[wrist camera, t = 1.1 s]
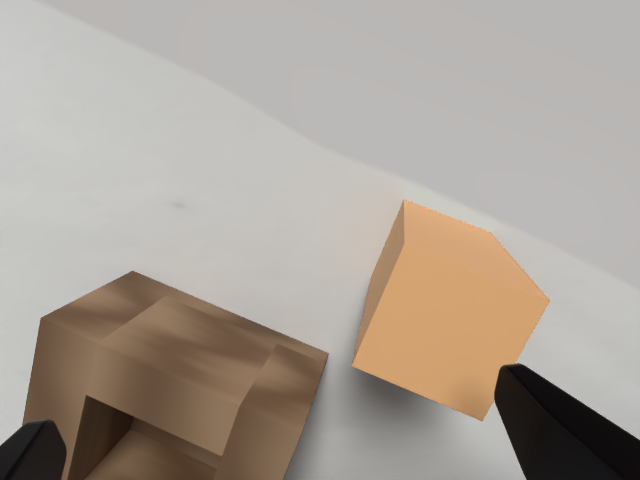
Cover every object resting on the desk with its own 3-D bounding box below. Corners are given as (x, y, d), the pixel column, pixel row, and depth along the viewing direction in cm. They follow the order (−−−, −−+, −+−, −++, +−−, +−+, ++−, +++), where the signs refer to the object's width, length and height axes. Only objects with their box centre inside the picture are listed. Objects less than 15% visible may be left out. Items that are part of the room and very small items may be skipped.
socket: (328, 353, 22) (301, 433, 16) (263, 512, 25) (221, 626, 19) (132, 270, 23) (40, 317, 17) (94, 433, 26) (6, 519, 20)
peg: (490, 232, 19) (549, 301, 11) (452, 310, 20) (482, 421, 12) (403, 199, 19) (404, 243, 12) (370, 278, 20) (351, 366, 13)
